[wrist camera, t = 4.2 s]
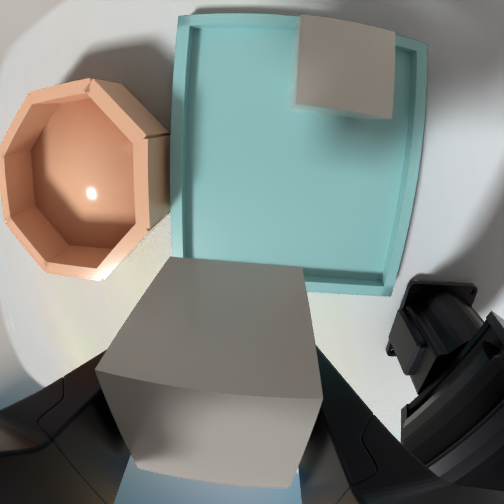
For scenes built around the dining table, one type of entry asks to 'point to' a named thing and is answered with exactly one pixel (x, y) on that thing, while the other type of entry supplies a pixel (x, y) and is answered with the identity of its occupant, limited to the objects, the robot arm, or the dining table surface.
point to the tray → (288, 159)
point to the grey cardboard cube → (342, 68)
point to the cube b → (217, 373)
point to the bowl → (84, 176)
